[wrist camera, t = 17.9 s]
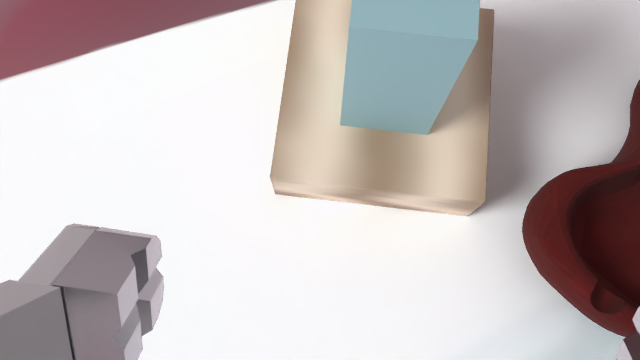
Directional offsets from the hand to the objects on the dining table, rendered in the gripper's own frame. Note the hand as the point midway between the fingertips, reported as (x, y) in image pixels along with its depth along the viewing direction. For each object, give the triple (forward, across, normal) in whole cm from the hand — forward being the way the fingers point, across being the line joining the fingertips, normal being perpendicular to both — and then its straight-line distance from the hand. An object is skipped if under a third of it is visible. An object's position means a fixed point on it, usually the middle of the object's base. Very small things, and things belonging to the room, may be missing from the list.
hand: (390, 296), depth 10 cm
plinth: (+27, 0, +8) cm, 29 cm away
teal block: (+24, -1, +5) cm, 25 cm away
